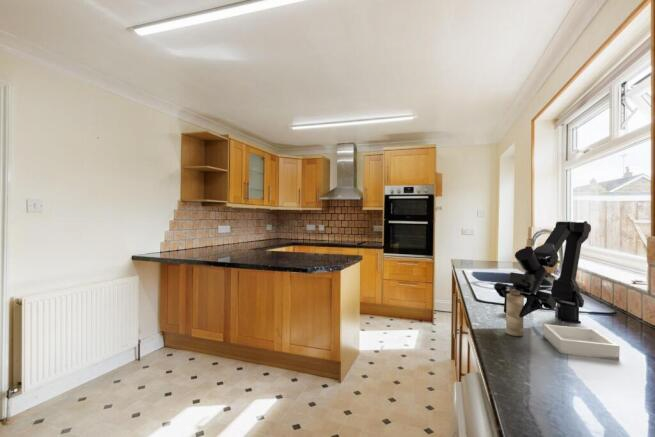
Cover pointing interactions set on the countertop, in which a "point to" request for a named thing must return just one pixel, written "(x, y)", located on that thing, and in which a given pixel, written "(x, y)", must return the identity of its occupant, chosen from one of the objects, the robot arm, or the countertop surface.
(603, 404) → the countertop surface
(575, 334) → the bin
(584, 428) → the countertop surface
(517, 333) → the pepper mill
